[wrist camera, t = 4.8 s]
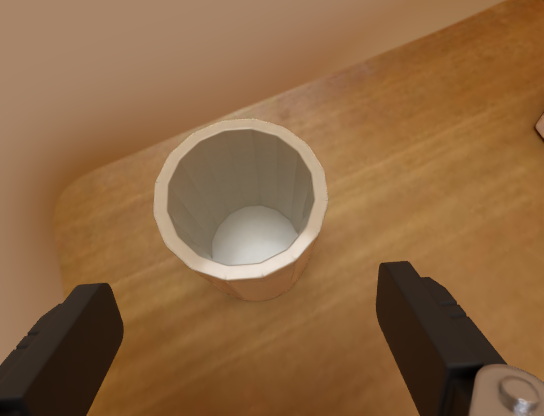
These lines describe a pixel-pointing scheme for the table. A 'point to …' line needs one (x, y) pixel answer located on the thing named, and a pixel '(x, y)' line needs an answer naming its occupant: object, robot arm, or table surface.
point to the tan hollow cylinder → (242, 206)
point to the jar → (540, 126)
